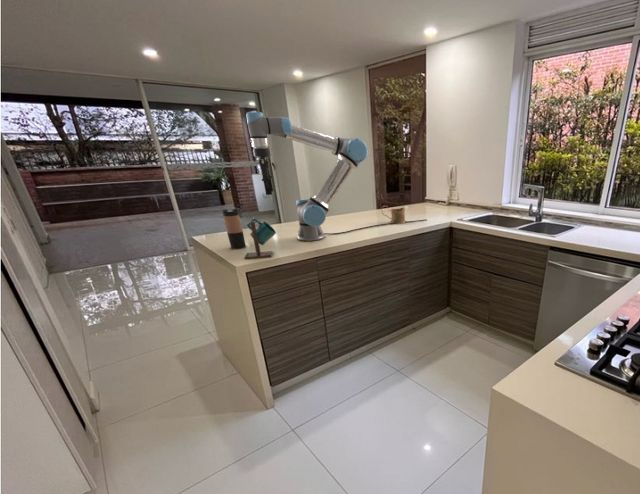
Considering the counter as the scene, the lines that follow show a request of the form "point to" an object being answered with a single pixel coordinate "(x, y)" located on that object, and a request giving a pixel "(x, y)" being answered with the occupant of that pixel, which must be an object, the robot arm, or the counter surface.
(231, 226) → the travel mug
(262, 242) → the teal mug
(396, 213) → the mug
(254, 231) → the mug stand
